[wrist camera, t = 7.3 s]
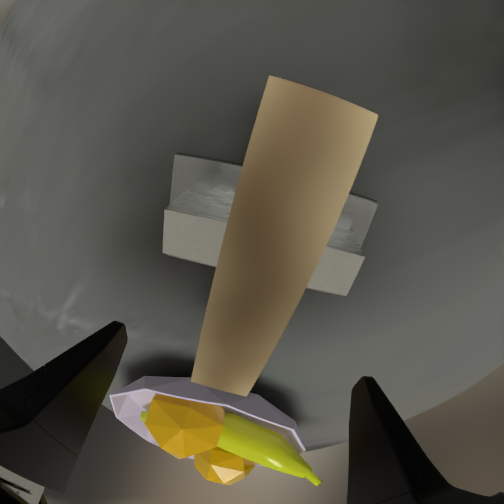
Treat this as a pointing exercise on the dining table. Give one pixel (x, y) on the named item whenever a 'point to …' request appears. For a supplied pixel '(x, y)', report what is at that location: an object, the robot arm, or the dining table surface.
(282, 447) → the fruit bowl
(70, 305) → the dining table surface
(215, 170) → the fulcrum stand
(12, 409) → the robot arm
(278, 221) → the oak batten
